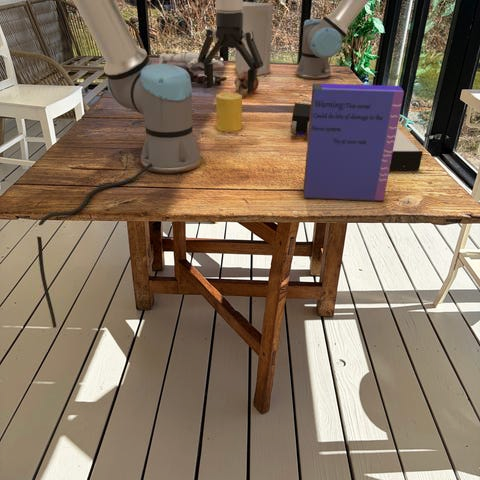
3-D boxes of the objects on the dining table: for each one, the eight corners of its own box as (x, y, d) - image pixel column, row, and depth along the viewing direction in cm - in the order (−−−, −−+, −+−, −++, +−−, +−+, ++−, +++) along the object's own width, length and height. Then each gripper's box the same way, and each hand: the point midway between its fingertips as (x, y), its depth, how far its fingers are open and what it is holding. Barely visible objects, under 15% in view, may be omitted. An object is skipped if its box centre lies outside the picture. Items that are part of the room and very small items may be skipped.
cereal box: (379, 191, 109) (398, 84, 97) (383, 201, 105) (404, 90, 93) (303, 188, 110) (312, 82, 98) (304, 197, 106) (314, 88, 94)
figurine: (149, 84, 182) (227, 91, 186) (149, 62, 179) (229, 70, 183) (154, 81, 204) (223, 88, 208) (154, 62, 201) (225, 69, 205)
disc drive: (349, 170, 120) (352, 151, 117) (332, 140, 139) (334, 123, 137) (418, 171, 120) (423, 152, 118) (392, 140, 140) (395, 124, 137)
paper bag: (273, 76, 210) (276, 6, 196) (239, 77, 209) (240, 6, 194) (266, 67, 226) (268, 2, 212) (235, 67, 225) (235, 1, 210)
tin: (225, 122, 153) (225, 91, 148) (246, 126, 150) (246, 95, 145) (211, 128, 148) (211, 96, 143) (232, 133, 144) (232, 100, 139)
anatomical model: (248, 99, 191) (242, 101, 177) (232, 84, 190) (225, 85, 176) (269, 75, 187) (265, 74, 173) (253, 59, 186) (248, 57, 172)
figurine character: (312, 146, 139) (312, 125, 151) (314, 121, 134) (315, 101, 146) (289, 145, 139) (291, 123, 151) (290, 120, 135) (293, 100, 147)
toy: (179, 76, 209) (178, 59, 205) (154, 65, 226) (153, 50, 223) (226, 70, 221) (226, 54, 217) (199, 60, 238) (198, 45, 235)
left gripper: (276, 12, 130) (273, 91, 141) (197, 7, 139) (200, 82, 150) (265, 15, 124) (263, 97, 135) (183, 10, 133) (187, 87, 145)
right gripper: (236, -63, 173) (236, 2, 184) (305, -63, 169) (300, 4, 179) (240, -62, 179) (240, 1, 190) (307, -62, 175) (302, 2, 186)
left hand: (230, 89), depth 143 cm, fingers open, 13 cm apart
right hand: (269, 2), depth 185 cm, fingers open, 13 cm apart
